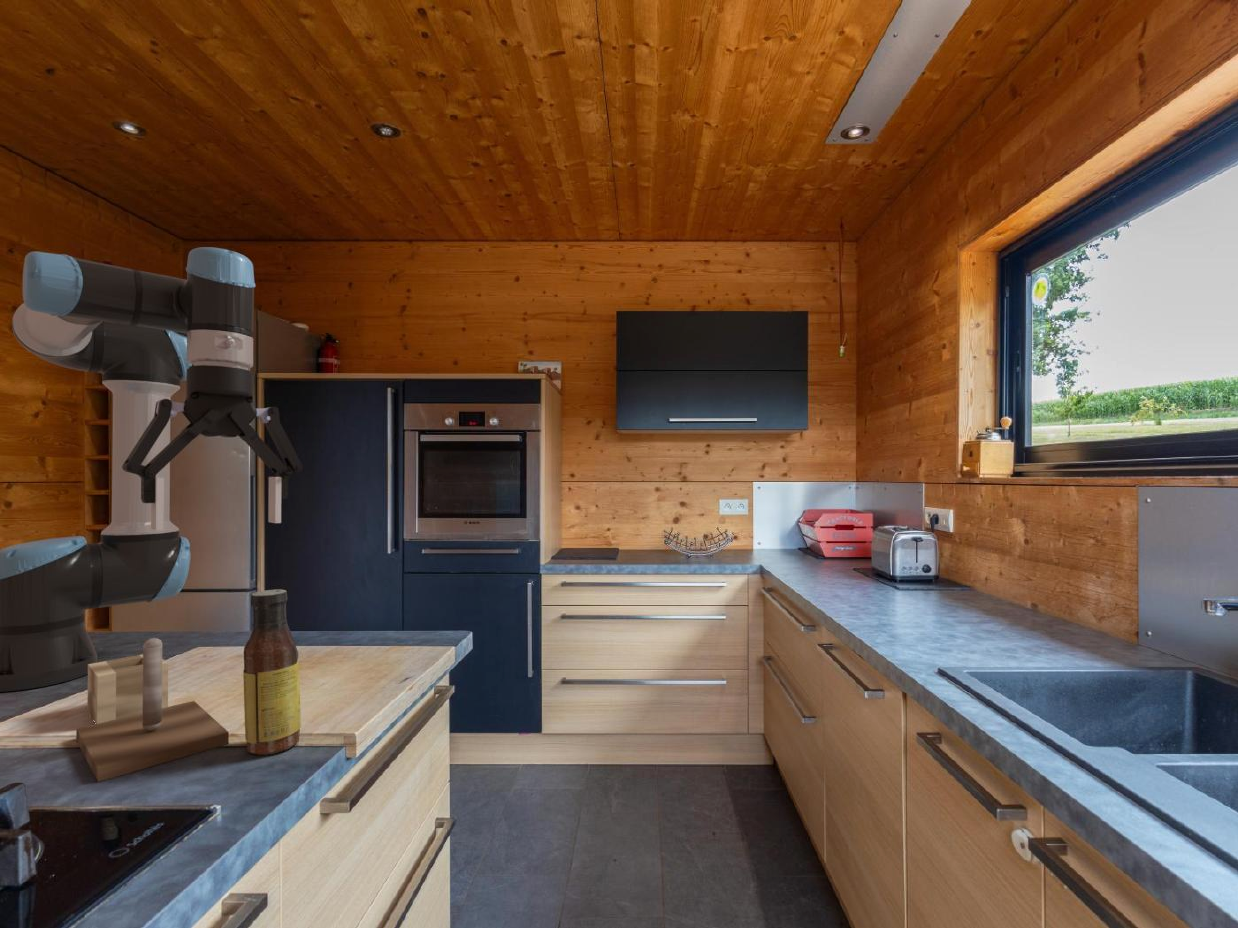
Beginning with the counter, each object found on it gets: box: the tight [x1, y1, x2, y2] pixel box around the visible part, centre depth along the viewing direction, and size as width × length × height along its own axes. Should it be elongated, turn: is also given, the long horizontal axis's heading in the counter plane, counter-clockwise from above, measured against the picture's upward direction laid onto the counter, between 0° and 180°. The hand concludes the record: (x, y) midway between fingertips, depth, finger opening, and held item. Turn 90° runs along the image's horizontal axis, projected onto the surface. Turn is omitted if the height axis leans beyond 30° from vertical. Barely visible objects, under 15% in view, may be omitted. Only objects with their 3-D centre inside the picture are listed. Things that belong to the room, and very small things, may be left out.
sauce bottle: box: [242, 588, 302, 756], centre depth 78 cm, size 7×6×20 cm
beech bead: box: [86, 653, 169, 724], centre depth 89 cm, size 8×8×7 cm
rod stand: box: [75, 637, 230, 783], centre depth 79 cm, size 16×13×14 cm
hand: (219, 526), depth 82 cm, fingers open, 13 cm apart
